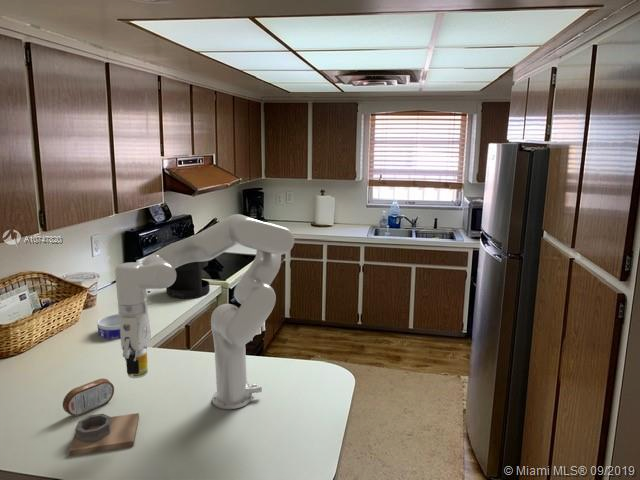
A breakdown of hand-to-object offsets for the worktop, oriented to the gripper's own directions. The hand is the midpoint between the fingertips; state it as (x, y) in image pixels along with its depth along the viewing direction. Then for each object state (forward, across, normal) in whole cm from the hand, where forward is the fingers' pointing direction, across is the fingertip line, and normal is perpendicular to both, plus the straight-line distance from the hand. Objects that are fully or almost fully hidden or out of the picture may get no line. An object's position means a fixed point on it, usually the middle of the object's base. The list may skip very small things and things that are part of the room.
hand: (137, 367), depth 135 cm
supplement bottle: (+2, 0, 0) cm, 2 cm away
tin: (+19, +10, +20) cm, 29 cm away
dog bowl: (+19, +70, +37) cm, 82 cm away
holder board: (+19, -4, +9) cm, 21 cm away
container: (+18, +124, +22) cm, 128 cm away
